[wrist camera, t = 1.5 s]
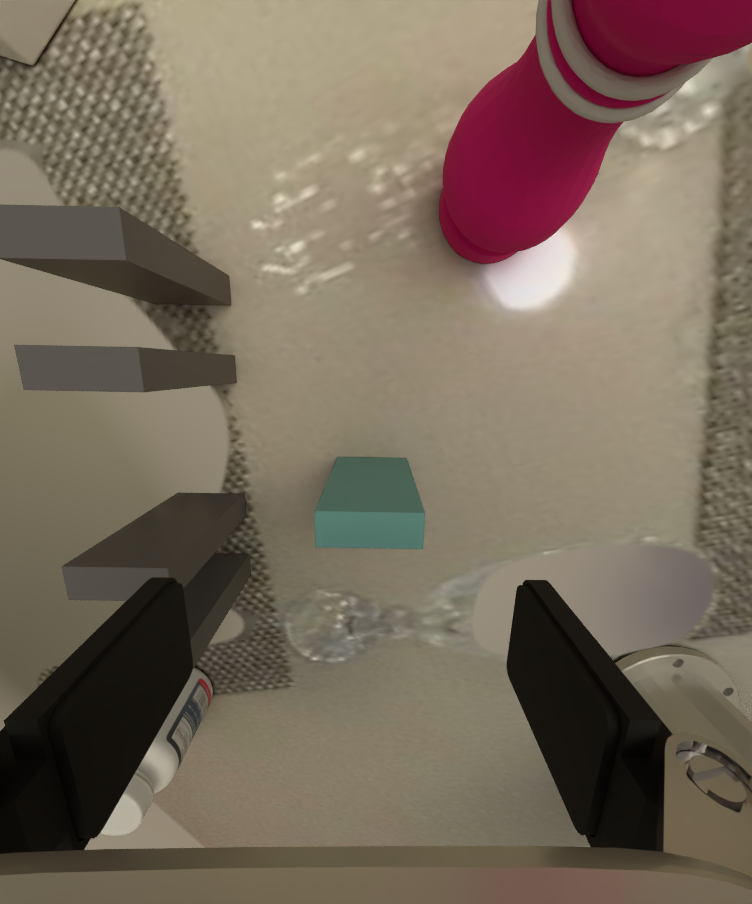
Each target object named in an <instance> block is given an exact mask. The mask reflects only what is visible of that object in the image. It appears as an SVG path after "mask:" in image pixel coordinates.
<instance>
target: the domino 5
mask: <svg viewBox="0 0 752 904" xmlns="http://www.w3.org/2000/svg"><path fill="white" fill-rule="evenodd" d="M424 523H425V511H424V508H423V505H422V503H421V500H420V497H419V494H418V491H417V488H416V485H415V482H414V479H413V476H412V473H411V470H410V467H409V464H408V461H407V458H379V457H338V458H337V460H336V463H335V465H334V467H333V470H332V472H331V474H330V477H329V479H328V481H327V484H326V486H325V488H324V491H323V493H322V495H321V498H320V500H319V502H318V505H317V507H316V509H315V545H316V547H329V548H388V549H423V541H424Z"/></svg>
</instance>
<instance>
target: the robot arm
mask: <svg viewBox="0 0 752 904" xmlns="http://www.w3.org/2000/svg"><path fill="white" fill-rule="evenodd" d="M192 669H193V657H192V650H191V642H190V635H189V628H188V620H187V613H186V605H185V598H184V590H183V586H182V584H181V583H177V580H176V579H175V578H171V577H153V578H150V579H149V580H147V581H146V582H145V583H144V584H143V585H142V586H141V587H140V588H139V589H138V590H137V591H136V592H135V593H134V594H133V595H132V596H131V597H130V598H129V599H128V600H127V601H126V602H125V603H124V604H123V605H122V606H121V607H120V608H119V609H118V610H117V611H116V612H115V613H114V614H113V615H112V616H111V617H110V618H109V619H108V620H107V621H106V622H105V623H104V624H102V626H100V627H99V628H98V629H97V630H96V632H94V633H93V634H92V635H91V636H90V637H89V638H88V639H87V640H86V641H85V642H84V643H83V644H82V645H81V646H80V647H79V648H78V649H77V650H76V651H75V652H74V653H73V654H72V655H71V656H70V657H69V658H68V659H67V660H66V661H65V662H64V663H63V664H62V665H60V666H59V667H58V668H57V669H56V670H55V671H54V672H53V673H52V674H51V675H50V676H49V677H48V678H47V679H46V680H45V681H44V682H43V683H42V684H41V685H40V686H39V687H38V688H37V689H36V690H35V691H34V692H33V693H32V694H31V695H30V696H29V697H28V698H27V699H26V700H25V701H24V702H23V703H22V704H21V705H20V706H19V707H17V709H15V710H14V711H13V712H12V714H10V715H9V716H8V717H7V718H6V719H5V720H4V723H5V727H4V728H3V729H2V730H1V731H0V904H752V722H751V721H750V720H749V719H748V718H747V717H746V716H745V715H744V714H743V713H742V712H741V711H740V710H739V694H738V691H737V688H736V685H735V683H734V681H733V680H732V678H731V677H730V675H729V674H728V673H727V672H726V671H725V670H724V669H723V668H722V667H721V666H719V665H718V664H717V663H716V662H715V661H713V660H712V659H711V658H709V657H708V656H707V655H704V654H702V653H700V652H698V651H696V650H692V649H688V648H683V647H670V646H665V647H656V648H650V649H646V650H642V651H638V652H635V653H633V654H631V655H628V656H626V657H624V658H622V659H621V660H619V661H617V662H616V663H614V661H613V660H612V659H611V658H610V656H609V655H608V654H607V653H606V652H605V650H604V649H603V648H602V647H601V645H600V644H599V643H598V642H597V640H596V639H595V638H594V637H593V636H592V635H591V633H590V632H589V631H588V630H587V629H586V627H585V626H584V625H583V624H582V622H581V621H580V620H579V619H578V617H577V616H576V615H575V614H574V613H573V611H572V610H571V609H570V608H569V606H568V605H567V604H566V603H565V602H564V600H563V599H562V598H561V597H560V595H559V594H558V593H557V592H556V590H555V589H554V588H553V587H552V585H551V584H550V583H549V582H548V581H546V580H525V581H524V582H523V585H520V586H518V587H517V591H516V598H515V606H514V613H513V621H512V628H511V635H510V643H509V650H508V658H507V672H508V676H509V679H510V681H511V684H512V686H513V688H514V690H515V693H516V695H517V697H518V700H519V702H520V704H521V706H522V709H523V711H524V713H525V715H526V718H527V720H528V722H529V725H530V727H531V729H532V731H533V734H534V736H535V738H536V740H537V743H538V745H539V747H540V750H541V752H542V754H543V756H544V759H545V761H546V763H547V766H548V768H549V770H550V772H551V775H552V777H553V779H554V781H555V784H556V786H557V788H558V791H559V793H560V795H561V797H562V800H563V802H564V804H565V806H566V809H567V811H568V813H569V816H570V818H571V820H572V822H573V824H574V826H575V828H576V830H577V831H578V833H579V834H581V835H586V837H587V840H588V842H589V844H590V846H591V847H555V846H347V847H233V848H167V849H104V850H103V849H102V850H84V849H85V847H86V845H87V844H88V842H89V840H90V839H91V838H95V837H97V836H98V834H99V833H100V832H101V831H102V829H103V828H104V826H105V825H106V823H107V821H108V819H109V818H110V816H111V814H112V812H113V811H114V809H115V807H116V805H117V804H118V802H119V800H120V798H121V797H122V795H123V793H124V791H125V790H126V788H127V786H128V784H129V783H130V781H131V779H132V778H133V776H134V774H135V772H136V771H137V769H138V767H139V765H140V764H141V762H142V760H143V758H144V757H145V755H146V753H147V751H148V750H149V748H150V746H151V744H152V743H153V741H154V739H155V737H156V736H157V734H158V732H159V730H160V729H161V727H162V725H163V723H164V722H165V720H166V718H167V716H168V715H169V713H170V711H171V710H172V708H173V706H174V704H175V703H176V701H177V699H178V697H179V696H180V694H181V692H182V690H183V689H184V687H185V685H186V683H187V682H188V680H189V678H190V676H191V673H192Z"/></svg>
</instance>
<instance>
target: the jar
mask: <svg viewBox="0 0 752 904" xmlns="http://www.w3.org/2000/svg"><path fill="white" fill-rule="evenodd" d="M74 2H75V0H0V56H3V57H6V58H9V59H12V60H15V61H18V62H21V63H25V64H28V65H34V64H35V63H36V61H37V60H38V58H39V56H40V55H41V53H42V52H43V50H44V49H45V47H46V46H47V44H48V42H49V41H50V39H51V38H52V36H53V35H54V33H55V31H56V30H57V28H58V27H59V25H60V24H61V22H62V20H63V19H64V17H65V16H66V14H67V13H68V11H69V9H70V8H71V6H72V5H73V3H74Z"/></svg>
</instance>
